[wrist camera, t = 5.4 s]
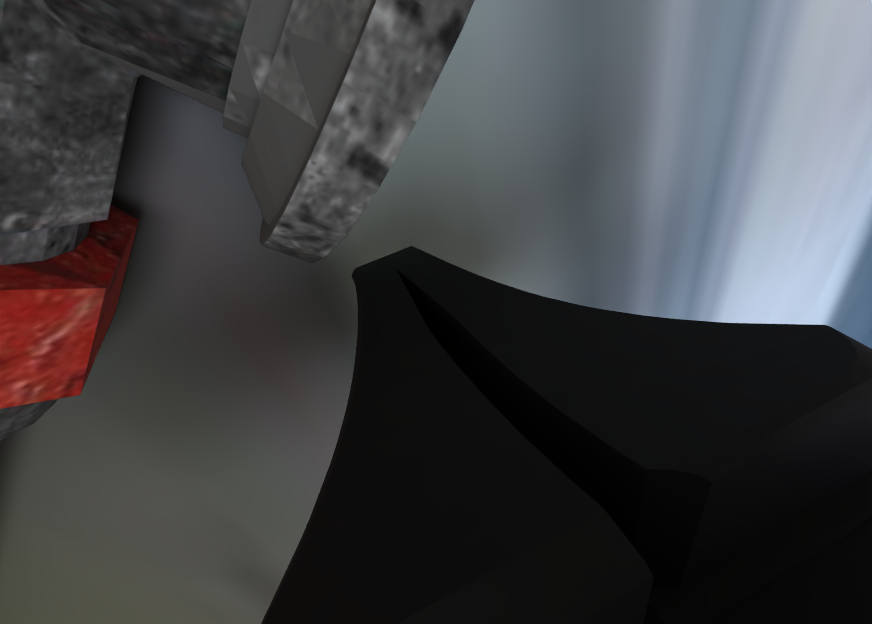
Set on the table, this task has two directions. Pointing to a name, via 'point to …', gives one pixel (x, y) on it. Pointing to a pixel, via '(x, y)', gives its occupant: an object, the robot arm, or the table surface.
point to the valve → (243, 114)
